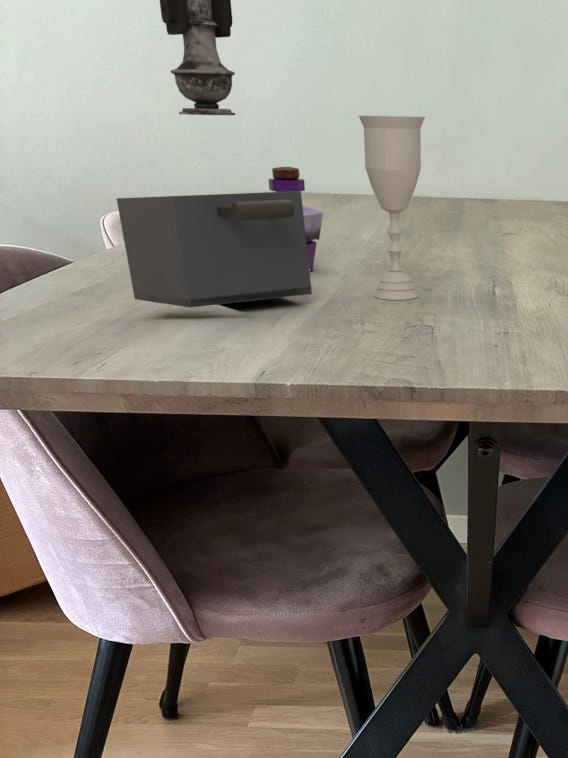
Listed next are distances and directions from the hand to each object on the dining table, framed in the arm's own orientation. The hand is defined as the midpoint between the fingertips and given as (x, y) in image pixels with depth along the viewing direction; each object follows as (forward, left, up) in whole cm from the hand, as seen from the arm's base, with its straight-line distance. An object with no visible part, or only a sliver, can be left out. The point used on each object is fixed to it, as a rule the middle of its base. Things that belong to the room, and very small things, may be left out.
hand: (198, 33), depth 89 cm
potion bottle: (+19, +19, -25) cm, 36 cm away
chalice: (+19, -4, -25) cm, 31 cm away
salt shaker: (0, 0, -7) cm, 7 cm away
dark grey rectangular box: (+1, 0, -24) cm, 24 cm away
